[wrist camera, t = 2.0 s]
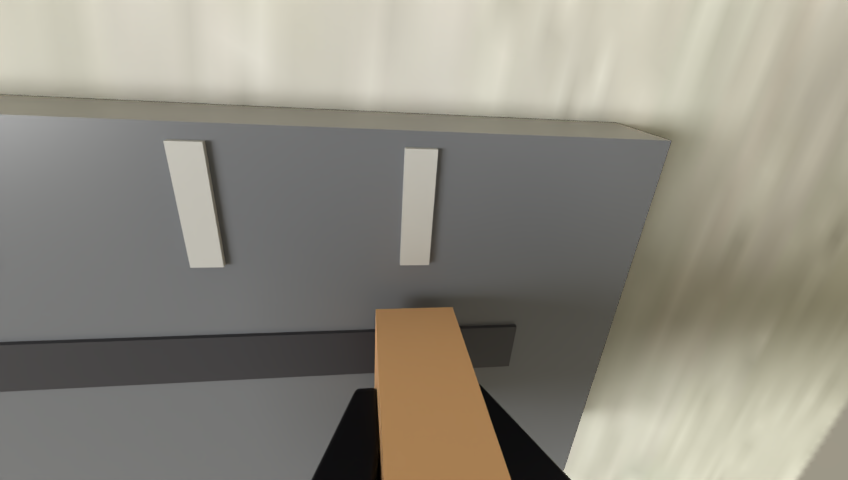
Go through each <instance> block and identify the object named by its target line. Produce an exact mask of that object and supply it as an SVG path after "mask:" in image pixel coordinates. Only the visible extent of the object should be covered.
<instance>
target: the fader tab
mask: <svg viewBox="0 0 848 480" xmlns="http://www.w3.org/2000/svg"><path fill="white" fill-rule="evenodd" d="M374 388H375V389H376V390H377V403H378V421H379V440H380V457H379V480H511V478H510V475H509V472H508V469H507V466H506V463H505V460H504V457H503V454H502V451H501V448H500V445H499V442H498V439H497V437H496V434H495V431H494V428H493V425H492V422H491V419H490V416H489V413H488V410H487V407H486V404H485V401H484V398H483V395H482V392H481V389H480V386H479V383H478V381H477V378H476V375H475V372H474V369H473V366H472V363H471V360H470V357H469V354H468V351H467V348H466V345H465V342H464V339H463V336H462V333H461V330H460V327H459V325H458V322H457V319H456V316H455V313H454V310H453V307H438V308H401V309H376V316H375V383H374Z"/></svg>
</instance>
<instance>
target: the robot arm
mask: <svg viewBox="0 0 848 480" xmlns="http://www.w3.org/2000/svg"><path fill="white" fill-rule="evenodd" d="M479 386H480V389H481V392H482V395H483V398H484V401H485V404H486V407H487V410H488V413H489V416H490V419H491V422H492V425H493V428H494V431H495V434H496V437H497V439H498V442H499V445H500V448H501V451H502V454H503V457H504V460H505V463H506V466H507V469H508V472H509V475H510V478H511V480H571V479H570V478H569V477H568V476H567V475H566V474H565V473H564V472H563V471H562V470H561V469H560V468H559V467H558V466H557V465H556V463H555V462H554V461H553V460H552V459H551V458H550V457H549V456H548V455H547V454H546V453H545V452H544V451H543V450H542V449H541V448H540V447H539V446H538V445H537V443H536V442H535V441H534V440H533V439H532V438H531V437H530V436H529V435H528V434H527V433H526V432H525V431H524V430H523V429H522V428H521V427H520V426H519V424H518V423H517V422H516V421H515V420H514V419H513V418H512V417H511V416H510V415H509V414H508V413H507V412H506V411H505V410H504V409H503V408H502V407H501V406H500V404H499V403H498V402H497V401H496V400H495V399H494V398H493V397H492V396H491V395H490V394H489V393H488V392H487V391H486V390H485V389H484V388H483V387H482V386H481V385H480V384H479ZM379 457H380V440H379V421H378V403H377V390H376V389H375V388H360V389H357V390H356V391H355V392H354V394H353V396H352V398H351V400H350V402H349V404H348V406H347V408H346V410H345V412H344V414H343V416H342V418H341V420H340V422H339V424H338V426H337V428H336V430H335V432H334V434H333V436H332V438H331V440H330V443H329V445H328V447H327V449H326V451H325V453H324V455H323V457H322V459H321V461H320V463H319V465H318V467H317V469H316V471H315V473H314V475H313V477H312V479H311V480H379Z"/></svg>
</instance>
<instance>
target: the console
mask: <svg viewBox="0 0 848 480" xmlns="http://www.w3.org/2000/svg"><path fill="white" fill-rule="evenodd" d="M670 144H671V140H668V139H665V138H662V137H659V136H655V135H652V134H649V133H646V132H643V131H640V130H637V129H634V128H631V127H628V126H624V125H621V124H618V123H614V122H592V121H570V120H548V119H526V118H504V117H482V116H460V115H438V114H416V113H394V112H372V111H350V110H328V109H306V108H284V107H262V106H240V105H218V104H196V103H174V102H152V101H131V100H109V99H87V98H65V97H43V96H21V95H0V480H311V479H312V477H313V475H314V473H315V471H316V469H317V467H318V465H319V463H320V461H321V459H322V457H323V455H324V453H325V451H326V449H327V447H328V445H329V443H330V440H331V438H332V436H333V434H334V432H335V430H336V428H337V426H338V424H339V422H340V420H341V418H342V416H343V414H344V412H345V410H346V408H347V406H348V404H349V402H350V400H351V398H352V396H353V394H354V392H355V391H356V390H357V389H360V388H374V383H375V316H376V309H401V308H438V307H453V310H454V313H455V316H456V319H457V322H458V325H459V327H460V330H461V333H462V336H463V339H464V342H465V345H466V348H467V351H468V354H469V357H470V360H471V363H472V366H473V369H474V372H475V375H476V378H477V381H478V383H479V384H480V385H481V386H482V387H483V388H484V389H485V390H486V391H487V392H488V393H489V394H490V395H491V396H492V397H493V398H494V399H495V400H496V401H497V402H498V403H499V404H500V406H501V407H502V408H503V409H504V410H505V411H506V412H507V413H508V414H509V415H510V416H511V417H512V418H513V419H514V420H515V421H516V422H517V423H518V424H519V426H520V427H521V428H522V429H523V430H524V431H525V432H526V433H527V434H528V435H529V436H530V437H531V438H532V439H533V440H534V441H535V442H536V443H537V445H538V446H539V447H540V448H541V449H542V450H543V451H544V452H545V453H546V454H547V455H548V456H549V457H550V458H551V459H552V460H553V461H554V462H555V463H556V465H557V466H558V467H559V468H560V469H561V470H564V468H565V465H566V462H567V459H568V456H569V453H570V450H571V447H572V443H573V440H574V437H575V434H576V431H577V428H578V425H579V422H580V419H581V416H582V413H583V410H584V407H585V404H586V401H587V398H588V395H589V391H590V388H591V385H592V382H593V379H594V376H595V373H596V370H597V367H598V364H599V361H600V358H601V355H602V352H603V349H604V346H605V343H606V339H607V336H608V333H609V330H610V327H611V324H612V321H613V318H614V315H615V312H616V309H617V306H618V303H619V300H620V297H621V294H622V291H623V288H624V284H625V281H626V278H627V275H628V272H629V269H630V266H631V263H632V260H633V257H634V254H635V251H636V248H637V245H638V242H639V239H640V236H641V232H642V229H643V226H644V223H645V220H646V217H647V214H648V211H649V208H650V205H651V202H652V199H653V196H654V193H655V190H656V187H657V184H658V180H659V177H660V174H661V171H662V168H663V165H664V162H665V159H666V156H667V153H668V150H669V147H670Z"/></svg>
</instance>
